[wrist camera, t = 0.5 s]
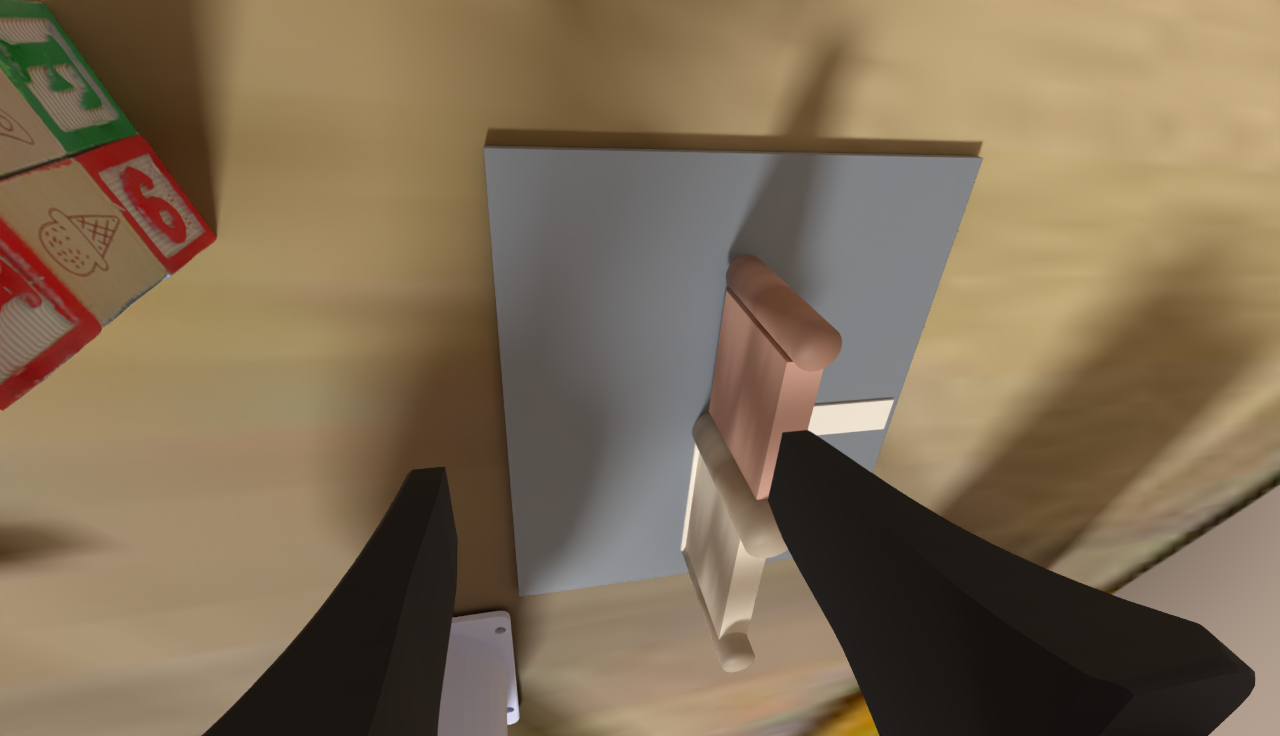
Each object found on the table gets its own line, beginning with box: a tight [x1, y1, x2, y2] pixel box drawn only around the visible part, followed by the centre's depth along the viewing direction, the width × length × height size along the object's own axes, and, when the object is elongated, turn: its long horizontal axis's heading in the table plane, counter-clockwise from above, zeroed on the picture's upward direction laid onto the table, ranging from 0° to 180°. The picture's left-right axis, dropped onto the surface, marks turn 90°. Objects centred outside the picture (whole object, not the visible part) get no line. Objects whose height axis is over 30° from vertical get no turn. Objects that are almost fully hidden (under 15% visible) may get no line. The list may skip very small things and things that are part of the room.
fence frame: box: [682, 411, 788, 672], centre depth 23 cm, size 9×2×6 cm, turn 176°
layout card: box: [484, 146, 983, 597], centre depth 24 cm, size 20×17×1 cm
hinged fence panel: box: [709, 255, 842, 500], centre depth 19 cm, size 6×1×5 cm, turn 176°
